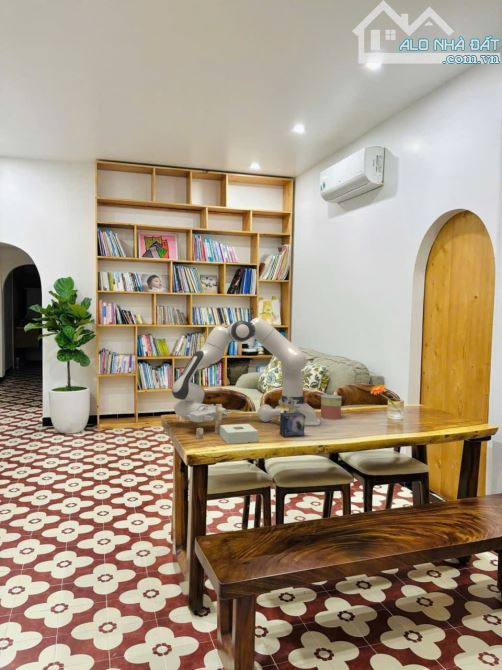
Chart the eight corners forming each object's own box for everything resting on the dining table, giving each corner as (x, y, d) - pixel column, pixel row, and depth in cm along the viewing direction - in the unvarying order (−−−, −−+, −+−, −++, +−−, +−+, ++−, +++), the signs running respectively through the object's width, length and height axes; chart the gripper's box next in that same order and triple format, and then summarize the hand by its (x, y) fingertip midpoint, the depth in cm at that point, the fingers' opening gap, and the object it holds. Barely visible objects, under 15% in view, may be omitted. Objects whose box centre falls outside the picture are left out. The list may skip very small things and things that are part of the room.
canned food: (342, 420, 264) (343, 398, 263) (321, 419, 264) (322, 397, 264) (339, 415, 275) (339, 394, 275) (319, 415, 276) (320, 394, 275)
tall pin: (221, 432, 231) (222, 404, 230) (220, 434, 228) (221, 405, 227) (215, 432, 231) (216, 403, 230) (214, 434, 228) (215, 405, 227)
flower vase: (258, 435, 254) (292, 432, 236) (248, 401, 254) (281, 396, 236) (275, 426, 263) (309, 424, 245) (265, 394, 263) (298, 389, 245)
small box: (283, 437, 225) (284, 415, 225) (279, 434, 231) (279, 412, 231) (304, 436, 228) (305, 414, 228) (299, 433, 234) (300, 411, 234)
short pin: (203, 437, 222) (203, 428, 221) (202, 439, 219) (202, 429, 218) (197, 437, 222) (197, 427, 222) (195, 439, 219) (196, 429, 219)
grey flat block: (248, 434, 230) (248, 423, 230) (257, 442, 217) (258, 431, 216) (219, 435, 226) (220, 425, 225) (227, 444, 212) (227, 432, 212)
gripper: (183, 409, 229) (204, 414, 220) (214, 403, 245) (234, 407, 236) (183, 422, 230) (203, 427, 221) (214, 415, 245) (234, 420, 236)
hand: (219, 417), depth 229 cm, fingers open, 8 cm apart
